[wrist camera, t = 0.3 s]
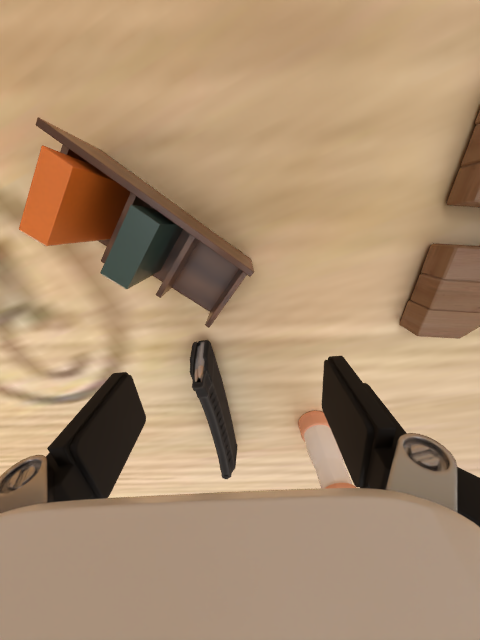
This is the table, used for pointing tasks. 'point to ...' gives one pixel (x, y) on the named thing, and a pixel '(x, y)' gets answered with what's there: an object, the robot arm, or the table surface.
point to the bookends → (451, 268)
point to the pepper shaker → (324, 451)
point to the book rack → (190, 248)
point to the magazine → (214, 403)
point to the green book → (140, 246)
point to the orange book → (71, 201)
